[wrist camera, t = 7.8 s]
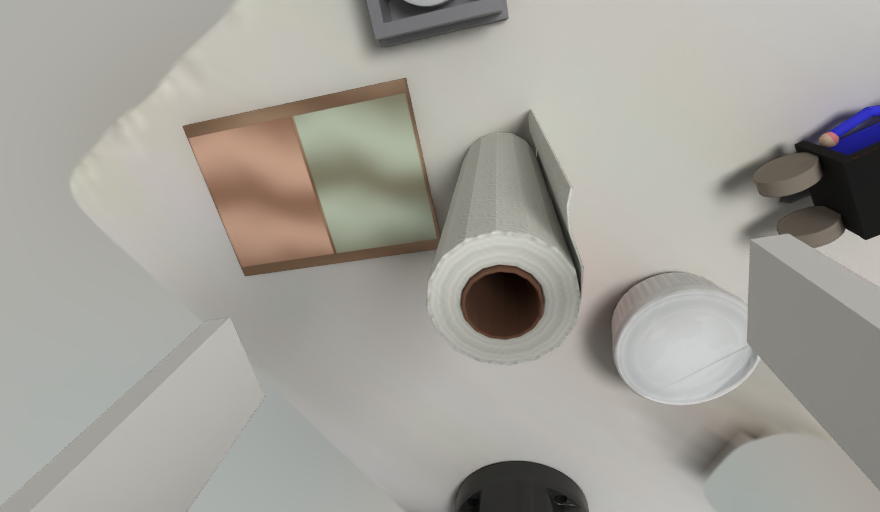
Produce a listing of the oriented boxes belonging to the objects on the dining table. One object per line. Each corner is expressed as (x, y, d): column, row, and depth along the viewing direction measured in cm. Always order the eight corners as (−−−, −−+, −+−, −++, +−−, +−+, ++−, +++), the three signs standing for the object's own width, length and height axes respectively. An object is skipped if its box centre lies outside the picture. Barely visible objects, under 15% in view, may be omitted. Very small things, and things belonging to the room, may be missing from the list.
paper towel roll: (484, 216, 39) (470, 388, 19) (448, 154, 37) (395, 275, 17) (564, 177, 36) (638, 325, 17) (531, 108, 35) (573, 189, 15)
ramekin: (692, 381, 43) (716, 423, 39) (580, 347, 43) (591, 384, 38) (760, 283, 38) (797, 317, 34) (635, 243, 38) (655, 272, 33)
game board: (442, 244, 40) (441, 249, 39) (249, 272, 44) (244, 276, 43) (405, 77, 35) (403, 78, 34) (188, 124, 38) (181, 126, 37)
